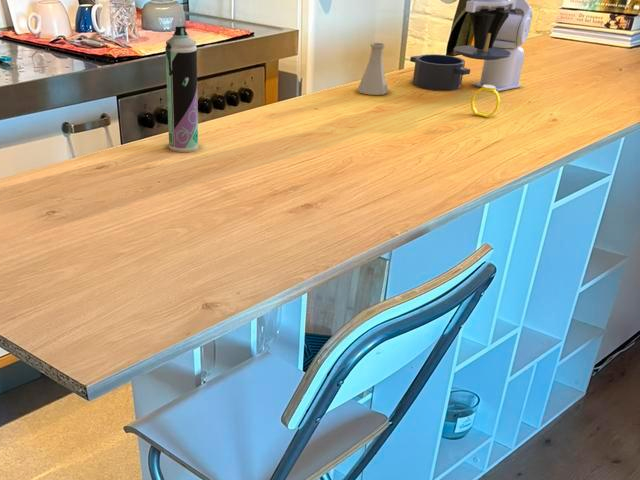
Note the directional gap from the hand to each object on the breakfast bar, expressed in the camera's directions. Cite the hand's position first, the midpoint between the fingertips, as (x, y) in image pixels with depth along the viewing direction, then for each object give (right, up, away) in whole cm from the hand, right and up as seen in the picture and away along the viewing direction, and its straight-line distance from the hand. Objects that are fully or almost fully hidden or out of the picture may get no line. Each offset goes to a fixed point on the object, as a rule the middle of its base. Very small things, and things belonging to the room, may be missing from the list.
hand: (483, 48), depth 182 cm
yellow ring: (-1, -18, -5) cm, 18 cm away
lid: (0, -1, +1) cm, 1 cm away
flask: (-24, -6, +9) cm, 26 cm away
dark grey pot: (-7, 0, +16) cm, 18 cm away
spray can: (-65, -35, -29) cm, 79 cm away
